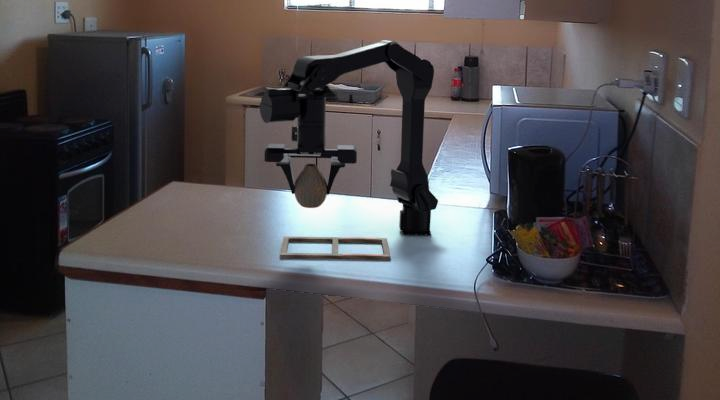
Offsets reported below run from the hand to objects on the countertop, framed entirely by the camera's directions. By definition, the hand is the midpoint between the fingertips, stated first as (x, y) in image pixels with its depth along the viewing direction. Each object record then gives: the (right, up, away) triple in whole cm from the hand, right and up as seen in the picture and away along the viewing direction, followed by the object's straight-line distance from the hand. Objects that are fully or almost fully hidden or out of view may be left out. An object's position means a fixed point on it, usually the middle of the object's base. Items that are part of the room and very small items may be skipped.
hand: (310, 193), depth 160 cm
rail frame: (+5, -12, +3) cm, 13 cm away
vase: (0, -3, +1) cm, 3 cm away
